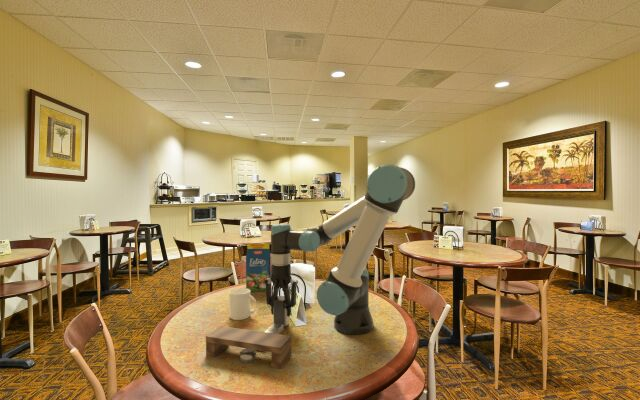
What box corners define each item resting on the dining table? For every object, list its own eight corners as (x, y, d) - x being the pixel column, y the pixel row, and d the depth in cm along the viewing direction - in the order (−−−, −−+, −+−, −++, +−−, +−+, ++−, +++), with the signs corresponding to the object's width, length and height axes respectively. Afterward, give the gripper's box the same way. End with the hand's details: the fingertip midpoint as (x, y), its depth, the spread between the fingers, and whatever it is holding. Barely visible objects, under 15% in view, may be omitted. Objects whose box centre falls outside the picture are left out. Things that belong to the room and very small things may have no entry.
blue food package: (268, 291, 162) (268, 244, 162) (246, 291, 163) (245, 244, 162) (270, 288, 169) (270, 242, 168) (249, 288, 169) (248, 243, 169)
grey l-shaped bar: (279, 323, 122) (279, 295, 122) (288, 324, 121) (288, 296, 121) (252, 348, 102) (252, 315, 102) (263, 349, 101) (263, 316, 101)
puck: (259, 356, 97) (259, 349, 97) (251, 365, 92) (251, 357, 92) (245, 354, 99) (245, 347, 99) (236, 362, 94) (236, 354, 94)
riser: (291, 355, 98) (291, 335, 98) (280, 368, 90) (280, 347, 90) (221, 343, 105) (221, 326, 105) (206, 355, 98) (205, 336, 98)
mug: (251, 322, 123) (251, 296, 123) (225, 319, 126) (225, 293, 126) (261, 314, 131) (261, 289, 131) (236, 311, 134) (236, 287, 134)
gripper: (304, 263, 120) (305, 322, 120) (265, 260, 125) (266, 317, 125) (297, 267, 113) (298, 330, 113) (256, 264, 118) (257, 324, 118)
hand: (281, 323), depth 119 cm, fingers closed on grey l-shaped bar, 4 cm apart
